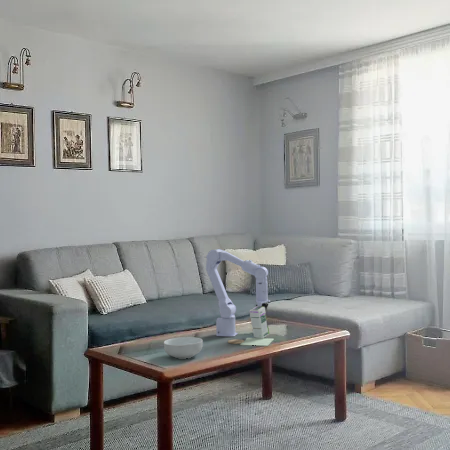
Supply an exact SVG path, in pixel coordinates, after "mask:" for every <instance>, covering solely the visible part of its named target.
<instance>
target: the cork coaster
mask: <svg viewBox="0 0 450 450" xmlns="http://www.w3.org/2000/svg"><path fill="white" fill-rule="evenodd" d="M244 341H245V339H238V338H237V339H230V340H229V339H228V340H227V343H228V344H231V345H232V344H233V345H238V344H239V345H240V344H241V343H243V342H244Z"/></svg>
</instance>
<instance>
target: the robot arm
mask: <svg viewBox="0 0 450 450" xmlns="http://www.w3.org/2000/svg"><path fill="white" fill-rule="evenodd" d="M205 258H206V263H205V270H206V272H207V276H208V277H209V281H210V282H211V285H212V288H213V290H214V291H213V292H215V295H216V297H217V301H218V304H217V305H218V308H219V313H218V314H219V315H220V317H217V318H216V322H215V323H216V324H215V327H216V328H215V329H216V331H215V332H216V335H215V337H236V336H237V335H238V332H236V316H235V315H236V313H237V306H236V305H235V304H234V303H233V301H232V299H230V298H229V295H228V293H227V290H226V288H225V286H224V284H223V280H222V278H221V275H220V273H219V271H218V267H219V265H220V263H221V262H224V261H228V262H230V263H233V264H234V265H237V266H239V267H240V268H241V270H242V271H243V272H245V273H248V275H249V274H250V275H251V276H253V277H255V297H256V299H255V302H256V304H255V306H263V307H265V311H266V312H267V310H268V308H269V303H270V302H271V300H270V299H268V298H269V297H268V296H269V295H268V276H269V269H267V267H265V266H263V265H262V266H261V264H258V263H255V262H253V260H251V259H249V260H248V259H246V260H244V259H241V258H239V257H238V256H237V255H234V254H232V253H230V252H228V251H227V250H223V249H221V248H217V249H211V250H210V251H208V253H207V255H206V256H205Z"/></svg>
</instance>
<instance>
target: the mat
mask: <svg viewBox="0 0 450 450" xmlns="http://www.w3.org/2000/svg"><path fill="white" fill-rule="evenodd" d="M274 339H275V338H266V337H264V338H255V337H246V339H244V342H243V343H241V344H239V346H252V345H254V346H253V347H255V345H256V347H268V346H269V345H270V344H271V343H272V342H273V341H274Z"/></svg>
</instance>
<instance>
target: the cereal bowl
mask: <svg viewBox="0 0 450 450" xmlns="http://www.w3.org/2000/svg"><path fill="white" fill-rule="evenodd" d="M203 342H204V341H203V339H202V338H200V337H194V336H193V337H192V336H182V337H172V338H169V339H166V340H164V342H163V348H164V352H165V353H166V354H167V355H168V356H170V357H173V358H175V359H176V358H179V359H178V360H187V359H186V358H188V359H191V357H192V358H193V357H194V356H196V355H198V354H199V353H200V352H201V351H202V349H203V345H204V343H203Z"/></svg>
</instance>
